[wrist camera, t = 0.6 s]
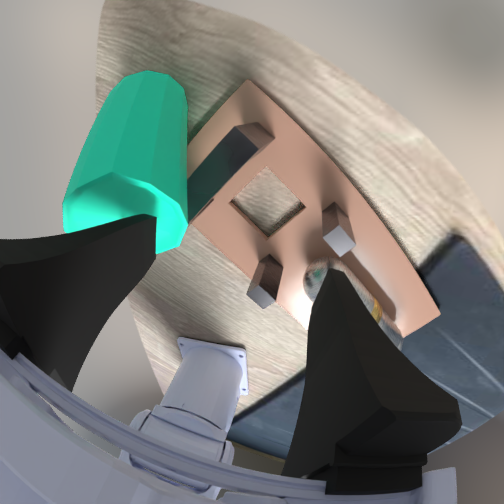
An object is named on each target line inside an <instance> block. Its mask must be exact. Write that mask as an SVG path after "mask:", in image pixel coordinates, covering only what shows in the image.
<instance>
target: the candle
mask: <svg viewBox="0 0 504 504" xmlns="http://www.w3.org/2000/svg"><path fill="white" fill-rule="evenodd" d="M187 119H188V104H187V100H186V96H185V91H184V88H183V87H182V86H181V85H180V84H179V83H177V82H176V81H175V80H174V79H173V78H172V77H171V76H170V75H168V74H163V73H159V72H154V71H148V70H146V71H142V72H139V73H135V74H132V75H129V76H126V77H124V78H123V79H122V80H121V81H120V82H119V83H118V84H117V85H116V86H115V87H114V88H113V89H112V91H111V92H110V93H109V95H108V97H107V99H106V100H105V102H104V104H103V106H102V108H101V110H100V112H99V114H98V116H97V118H96V120H95V122H94V124H93V126H92V128H91V130H90V132H89V135H88V137H87V139H86V142H85V144H84V146H83V148H82V151H81V153H80V156H79V158H78V161H77V163H76V166H75V168H74V171H73V174H72V176H71V179H70V182H69V185H68V188H67V191H66V194H65V197H64V201H63V203H62V205H63V226H64V231H65V232H66V233H71V232H75V231H79V230H83V229H87V228H90V227H94V226H98V225H102V224H105V223H108V222H112V221H115V220H119V219H122V218H126V217H130V216H134V215H138V214H148V215H151V216H155V217H157V225H156V254H159V253H162V252H164V251H167V250H170V249H173V248H175V247H178V246H180V243H181V241H182V238H183V236H184V233H185V231H186V229H187V226H188V208H187Z"/></svg>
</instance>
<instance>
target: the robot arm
mask: <svg viewBox="0 0 504 504" xmlns="http://www.w3.org/2000/svg"><path fill="white" fill-rule="evenodd" d="M156 225H157V217H155V216H151V215H148V214H138V215H134V216H130V217H126V218H122V219H119V220H115V221H112V222H108V223H105V224H102V225H98V226H94V227H90V228H87V229H83V230H79V231H75V232H71V233H66V234H61V235H55V236H49V237H41V238H32V239H13V240H12V239H10V240H9V239H8V240H7V239H0V504H457V487H456V486H457V485H456V470H455V468H454V467H451V468H445V469H440V470H433V471H429V472H426V473H423V474H422V466H424V465H426V464H427V453H429V452H431V451H433V450H434V449H436V448H437V447H439V446H441V445H442V444H444V443H445V442H447V441H448V440H450V439H451V438H452V437H454V436H455V435H456V433H457V432H458V431H459V430H460V428H461V426H462V420H461V415H460V410H459V405H458V401H457V399H455V398H454V397H453V396H451V395H450V394H449V393H447V392H446V391H444V390H443V389H442V388H440V387H439V386H438V385H436V384H435V383H434V382H433V381H431V380H430V379H429V378H428V377H427V376H426V375H424V374H423V373H422V372H421V371H420V370H419V369H418V368H417V367H416V366H414V365H413V364H412V363H411V362H410V361H409V360H408V358H407V357H406V356H405V355H404V354H403V353H402V352H401V351H400V350H399V349H398V348H397V347H396V346H395V345H394V343H393V342H392V341H391V340H390V339H389V337H388V336H387V335H386V334H385V333H384V331H383V330H382V329H381V327H380V326H379V325H378V323H377V322H376V320H375V319H374V318H373V316H372V315H371V313H370V312H369V310H368V309H367V307H366V306H365V304H364V303H363V301H362V300H361V298H360V296H359V295H358V293H357V292H356V290H355V288H354V287H353V285H352V283H351V282H350V280H349V279H348V277H347V276H346V274H345V273H344V272H343V271H339V270H336V269H333V268H329V269H328V271H327V274H326V276H325V278H324V281H323V283H322V285H321V287H320V290H319V292H318V294H317V296H316V299H315V301H314V303H313V305H312V308H311V314H310V320H309V326H308V342H307V363H306V378H305V386H304V391H303V397H302V402H301V406H300V411H299V415H298V420H297V424H296V428H295V431H294V435H293V439H292V442H291V446H290V449H289V453H288V456H287V459H286V462H285V465H284V468H283V471H282V474H281V476H279V475H273V474H268V473H263V472H258V471H254V470H249V469H245V468H241V467H237V466H233V465H232V461H233V457H234V448H233V446H232V443H231V442H230V441H225V439H226V436H227V432H228V431H229V429H230V426H231V423H232V419H233V416H234V413H235V410H236V407H237V403H238V400H239V397H240V394H241V395H248V393H249V388H248V373H247V358H246V350H245V349H243V348H238V347H232V346H226V345H220V344H214V343H209V342H204V341H199V340H194V339H189V338H184V337H178V339H177V342H178V345H179V349H180V352H181V355H182V358H183V360H182V362H181V364H180V366H179V368H178V370H177V372H176V374H175V376H174V378H173V380H172V382H171V384H170V386H169V388H168V390H167V392H166V394H165V396H164V398H163V400H162V402H161V404H160V406H159V405H155V407H154V409H153V411H150V410H148V409H147V410H144V411H142V412H139V413H138V414H137V415H136V416H135V418H134V419H133V421H132V422H131V424H130V426H128V425H126V424H124V423H122V422H120V421H118V420H116V419H114V418H113V417H111V416H109V415H107V414H105V413H103V412H102V411H100V410H98V409H96V408H95V407H93V406H92V405H90V404H88V403H87V402H85V401H84V400H82V399H81V398H79V397H78V396H76V395H74V394H73V393H72V390H73V387H74V384H75V382H76V379H77V377H78V374H79V372H80V369H81V367H82V365H83V363H84V361H85V359H86V357H87V355H88V353H89V351H90V349H91V347H92V345H93V343H94V341H95V340H96V338H97V336H98V334H99V333H100V331H101V330H102V328H103V326H104V325H105V323H106V322H107V320H108V318H109V317H110V316H111V314H112V313H113V312H114V310H115V309H116V308H117V307H118V305H119V304H120V303H121V302H122V301H123V300H124V299H125V297H126V296H127V295H128V294H129V293H130V292H131V291H132V289H133V288H134V287H135V286H136V285H137V284H138V283H139V281H140V280H141V279H142V278H143V277H144V275H145V274H146V273H147V271H148V270H149V268H150V267H151V265H152V263H153V262H154V260H155V259H156ZM36 392H37V393H38V394H39V395H40V396H41V397H43V398H44V399H45V400H47V401H48V402H49V403H50V404H52V405H53V406H54V407H56V408H57V409H58V410H60V411H61V412H62V413H64V414H65V415H67V416H68V417H69V418H71V419H72V420H74V421H75V422H77V423H78V424H80V425H81V426H83V427H85V428H86V429H88V430H89V431H91V432H92V433H94V434H96V435H97V436H99V437H101V438H103V439H104V440H106V441H108V442H109V443H111V444H113V445H115V446H117V447H119V448H120V449H122V450H121V453H120V456H119V459H117V458H116V457H114V456H112V455H110V454H109V453H107V452H105V451H104V450H102V449H100V448H98V447H97V446H95V445H93V444H92V443H90V442H89V441H87V440H86V439H84V438H82V437H81V436H79V435H78V434H76V433H75V432H73V430H72V429H71V428H70V427H69V426H67V425H66V424H65V423H64V422H63V421H62V420H61V419H60V418H59V417H58V416H57V415H56V413H55V412H54V411H53V409H52V408H51V407H50V405H48V404H47V403H46V402H45V401H44V400H43V399H42V398H41V397H40V396H39V395H38V394H37V393H36ZM143 467H144V468H146V469H149V470H151V471H153V472H155V473H158V474H160V475H163V476H165V477H167V478H170V479H172V480H175V481H178V482H181V483H183V484H186V485H189V486H192V487H194V488H191V487H187V486H184V485H181V484H178V483H176V482H173V481H171V480H168V479H165V478H163V477H160V476H158V475H156V474H153V473H151V472H149V471H147V470H146V469H144V468H143ZM221 488H223V489H227V490H231V491H236V492H240V493H235V492H226V493H225V494H224V497H222V498H219V499H218V501H217V500H216V497H217V495H218V493H219V490H220V489H221ZM242 493H244V494H242Z"/></svg>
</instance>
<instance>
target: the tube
mask: <svg viewBox="0 0 504 504" xmlns="http://www.w3.org/2000/svg"><path fill="white" fill-rule="evenodd" d="M329 268H333V269H336V270H339V271H343V272H344V273H345V274H346V276H347V277H348V279H349V280H350V282H351V283H352V285H353V287H354V288H355V290H356V292H357V293H358V295H359V296H360V298H361V300H362V301H363V303H364V304H365V306H366V307H367V309H368V310H369V312H370V313H371V315H372V316H373V318H374V319H375V320H376V322H377V323H378V325H379V326H380V327H381V329H382V330H383V331H384V333H385V334H386V335H387V336H388V337H389V339H390V340H391V341H392V342H393V343H394V345H395V346H396V347H397V348H398V349H399V350H400V351H401V349H402V346H403V336H402V333H401V331H400V329H399V328H398V327H397V326H396V324H395V323H394V322H393V320H392V319H391V318H390V317H389V315H388V314H387V313H386V312H385V310H384V309H383V308H382V306H381V305H380V303H379V302H378V301H377V300H376V298H375V297H374V296H373V295H372V294H371V293H370V292H369V291H368V290H367V288H366V287H365V286H364V285H363V284H362V282H361V281H360V280H359V279H358V278H357V277H356V275H355V274H354V273H353V272H352V271H351V270H350V268H349V267H348V266H347V265H346V264H345V263H344V262H343V261H341V260H339V259H338V258H335V257H321V258H318V259H316V260H315V261H313V262H312V263H311V264H310V265H309V266H308V267H307V269H306V271H305V273H304V277H303V288H304V291H305V293H306V295H307V297H308V298H309V299H310V300H311V301H312V302H313V303H314V301H315V299H316V296H317V294H318V292H319V290H320V287H321V285H322V283H323V281H324V278H325V276H326V274H327V271H328V269H329Z"/></svg>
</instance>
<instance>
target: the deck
mask: <svg viewBox="0 0 504 504" xmlns="http://www.w3.org/2000/svg"><path fill="white" fill-rule="evenodd" d="M254 122H259V123H260V124H261V125H262V126H263V127H264V128H265V129H266V130H267V131H268V132H269V133H270V134H271V135H272V136H274V137H275V139H274V140H273V141H272V142H271V143H270V144H269V145H268V146H267V147H266V148H265V149H264V150H263V151H262V152H260V153H259V154H258V155H256V156H255V157H254V158H252V159H251V160H250V161H248V162H247V163H246V164H245V165H244V166H243V167H242V168H241V169H240V170H239V171H238V172H237V173H236V174H235V175H234V176H233V177H232V178H231V179H230V180H229V181H228V182H227V184H226V185H225V186H224V187H223V188H222V189H221V190H220V191H219V192H218V193H217V194H216V195H215V196H214V197H213V199H214V201H213V202H212V203H211V204H210V205H209V206H208V207H207V208H206V209H205V210H204V211H203V212H202V213H201V214H200V215H199V216H198V217H197V218H196V219H195V220H194V221H193V222H192V223H191V224H192V225H193V226H194V227H195V228H197V229H198V230H199V231H200V232H201V233H202V234H203V235H204V236H205V237H206V238H207V239H208V240H209V241H210V242H211V243H212V244H213V245H215V246H216V247H217V248H218V249H219V250H220V251H221V252H222V253H223V254H224V255H225V256H226V257H227V258H228V259H230V260H231V261H232V262H233V263H234V264H235V265H236V266H237V267H238V268H239V269H240V270H241V271H242V272H244V273H245V274H246V275H247V276H248V277H249V278H250V279H251V280H252V278H253V275H254V273H255V270H256V268H257V265H258V262H259V261H260V260H262V259H263V258H264V257H266V256H267V255H268V254H271V255H272V256H273V257H274V258H275V259H276V260H277V261H278V262H279V263H280V264H281V265H282V266H283V267H284V268H283V272H282V277H281V281H280V285H279V290H278V294H277V298H276V301H275V302H276V303H277V304H279V305H280V306H281V307H282V308H283V309H284V310H285V311H286V312H287V313H289V314H290V315H291V316H292V317H293V318H294V319H295V320H296V321H297V322H299V323H300V324H301V325H302V326H303V327H304V328H305V329H306V330H308V326H309V320H310V314H311V308H312V305H313V302H312V301H311V300H310V299H309V298H308V297H307V295H306V293H305V291H304V288H303V277H304V273H305V271H306V269H307V267H308V266H309V265H310V264H311V263H312V262H313V261H315V260H316V259H318V258H321V257H335V258H338V259H339V260H341V261H343V262H344V263H345V264H346V265H347V266H348V267H349V268H350V270H351V271H352V272H353V273H354V274H355V275H356V277H357V278H358V279H359V280H360V281H361V282H362V284H363V285H364V286H365V287H366V288H367V290H368V291H369V292H370V293H371V294H372V295H373V296H374V297H375V298H376V300H377V301H378V302H379V303H380V305H381V306H382V308H383V309H384V310H385V312H386V313H387V314H388V315H389V317H390V318H391V319H392V320H393V322H394V323H395V324H396V326H397V327H398V328H399V329H400V331H401V333H402V336H403V337H405V336H407V335H408V334H410V333H412V332H413V331H415V330H417V329H418V328H420V327H422V326H423V325H425V324H427V323H428V322H430V321H431V320H433V319H434V318H436V317H437V316H439V315H440V314H441V313H440V311H439V309H438V307H437V305H436V304H435V302H434V300H433V298H432V297H431V295H430V293H429V291H428V290H427V288H426V286H425V285H424V283H423V282H422V280H421V278H420V277H419V275H418V273H417V272H416V270H415V269H414V267H413V266H412V264H411V263H410V261H409V259H408V258H407V256H406V255H405V253H404V252H403V250H402V249H401V248H400V246H399V245H398V243H397V242H396V240H395V239H394V237H393V236H392V235H391V233H390V232H389V230H388V229H387V228H386V226H385V225H384V224H383V222H382V221H381V220H380V218H379V217H378V216H377V214H376V213H375V212H374V210H373V209H372V208H371V206H370V205H369V204H368V203H367V201H366V200H365V199H364V198H363V196H362V195H361V194H360V193H359V191H358V190H357V189H356V188H355V186H354V185H353V184H352V183H351V182H350V180H349V179H348V178H347V177H346V176H345V175H344V173H343V172H342V171H341V170H340V169H339V168H338V167H337V165H336V164H335V163H334V162H333V161H332V160H331V159H330V158H329V156H328V155H327V154H326V153H325V152H324V151H323V150H322V149H321V148H320V147H319V146H318V145H317V143H316V142H315V141H314V140H313V139H312V138H311V137H310V136H309V135H308V134H307V133H306V132H305V131H304V130H303V129H302V128H301V127H300V126H299V125H298V124H297V123H296V122H295V121H294V120H293V119H292V118H291V117H290V116H289V115H288V114H287V113H286V112H285V111H284V110H283V109H281V108H280V107H279V106H278V105H277V104H276V103H275V102H274V101H273V100H272V99H271V98H270V97H268V96H267V95H266V94H265V93H264V92H263V91H262V90H261V89H259V88H258V87H257V86H256V85H255V84H254V83H253V82H251V81H250V80H249V79H247V80H246V81H245V82H244V83H243V84H242V85H241V86H240V87H239V88H238V89H237V90H236V91H235V92H234V93H233V94H232V95H231V96H230V97H229V98H228V99H227V101H226V102H225V103H224V104H223V105H222V106H221V107H220V108H219V109H218V110H217V112H216V113H215V114H214V115H213V116H212V117H211V118H210V119H209V121H208V122H207V123H206V124H205V125H204V126H203V128H202V129H201V130H200V131H199V132H198V133H197V135H196V136H195V137H194V138H193V139H192V141H191V142H190V143H189V144H188V146H187V179H188V178H189V177H190V176H191V174H192V173H193V172H194V171H195V170H196V169H197V167H198V166H199V165H200V164H201V163H202V162H203V160H204V159H205V158H206V157H207V156H208V155H209V153H210V152H211V151H212V150H213V149H214V148H215V147H216V146H217V144H218V143H219V142H220V141H221V140H222V139H223V138H224V137H225V136H226V135H227V134H228V132H229V131H230V130H231V129H232V128H233V127H234V126H237V125H243V124H248V123H254ZM266 166H267V167H268V168H269V169H270V170H271V171H272V172H273V173H274V174H275V175H276V176H277V177H278V178H279V179H280V180H281V181H282V182H283V183H284V184H285V185H286V186H287V187H288V188H289V189H290V190H291V191H292V193H293V194H294V195H295V196H296V197H297V198H298V199H299V200H300V201H301V202H302V203H303V204H304V205H305V207H304V208H303V209H301V210H300V211H299V212H298V213H297V214H295V215H294V216H293V217H292V218H291V219H289V220H288V221H287V222H286V223H285V224H283V225H282V226H281V227H280V228H279V229H277V230H276V231H275V232H274V233H273V234H271V235H270V236H269V237H267V236H266V235H265V234H264V233H263V232H262V231H261V230H260V229H259V228H258V227H257V226H256V225H255V224H254V223H253V222H252V221H251V220H250V219H249V218H248V217H247V216H246V215H245V214H244V213H243V212H242V211H241V210H240V209H239V208H238V207H236V206H235V205H234V204H233V203H232V202H231V200H232V199H233V198H234V197H235V196H236V195H237V194H238V193H239V192H240V191H241V190H242V189H243V188H244V187H245V186H246V185H247V184H248V183H249V182H250V181H251V180H252V179H253V178H254V177H255V176H256V175H257V174H258V173H259V172H260V171H261V170H262V169H263V168H265V167H266ZM334 201H335V202H336V203H337V204H338V206H339V207H340V208H341V209H342V210H343V211H344V213H345V214H346V215H347V216H348V217H349V220H350V223H351V227H352V231H353V234H354V238H355V242H356V246H355V247H353V248H352V249H351V250H349V251H348V252H346V253H345V254H344V255H342V256H341V257H339V255H338V254H337V253H336V252H335V251H334V250H333V249H332V248H331V246H330V245H329V244H328V243H327V242H326V241H325V240H324V239H323V231H322V211H323V210H324V209H326V208H327V207H328V206H329V205H330V204H332V203H333V202H334Z"/></svg>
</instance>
